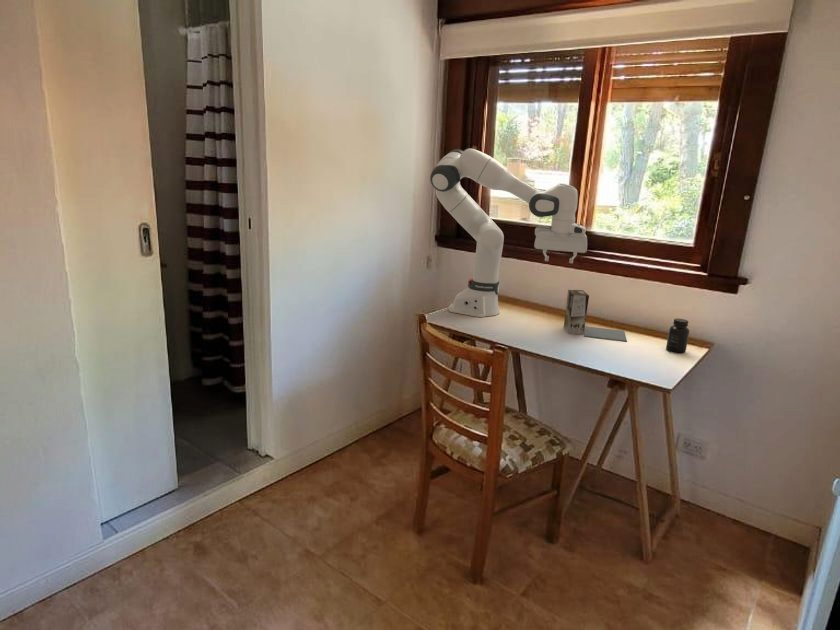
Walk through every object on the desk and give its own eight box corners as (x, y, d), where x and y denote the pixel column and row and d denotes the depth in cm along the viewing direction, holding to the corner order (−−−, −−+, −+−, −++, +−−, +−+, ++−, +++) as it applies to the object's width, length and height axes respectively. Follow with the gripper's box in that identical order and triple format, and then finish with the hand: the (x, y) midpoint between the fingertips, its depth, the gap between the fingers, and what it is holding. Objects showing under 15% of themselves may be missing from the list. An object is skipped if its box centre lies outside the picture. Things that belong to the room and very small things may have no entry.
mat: (583, 336, 216) (584, 335, 216) (583, 327, 228) (583, 325, 228) (626, 341, 212) (626, 340, 212) (624, 331, 224) (624, 330, 224)
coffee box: (584, 334, 219) (589, 295, 214) (568, 333, 219) (573, 294, 214) (578, 327, 228) (583, 289, 223) (563, 326, 228) (567, 289, 223)
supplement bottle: (689, 353, 202) (695, 323, 199) (672, 354, 201) (678, 323, 198) (678, 347, 209) (684, 317, 205) (661, 347, 208) (667, 317, 204)
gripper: (535, 225, 213) (531, 260, 217) (589, 229, 208) (585, 265, 212) (536, 224, 219) (532, 258, 223) (589, 227, 214) (585, 262, 218)
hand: (558, 261), depth 217 cm, fingers open, 8 cm apart
